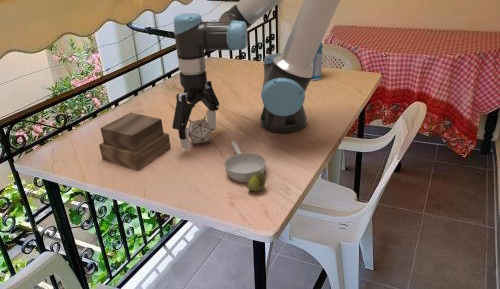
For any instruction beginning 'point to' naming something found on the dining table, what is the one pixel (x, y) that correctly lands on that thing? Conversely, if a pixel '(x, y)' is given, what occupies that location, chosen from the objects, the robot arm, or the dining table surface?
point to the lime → (256, 182)
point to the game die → (199, 131)
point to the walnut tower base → (137, 156)
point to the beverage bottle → (317, 65)
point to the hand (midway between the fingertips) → (199, 138)
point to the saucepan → (244, 165)
